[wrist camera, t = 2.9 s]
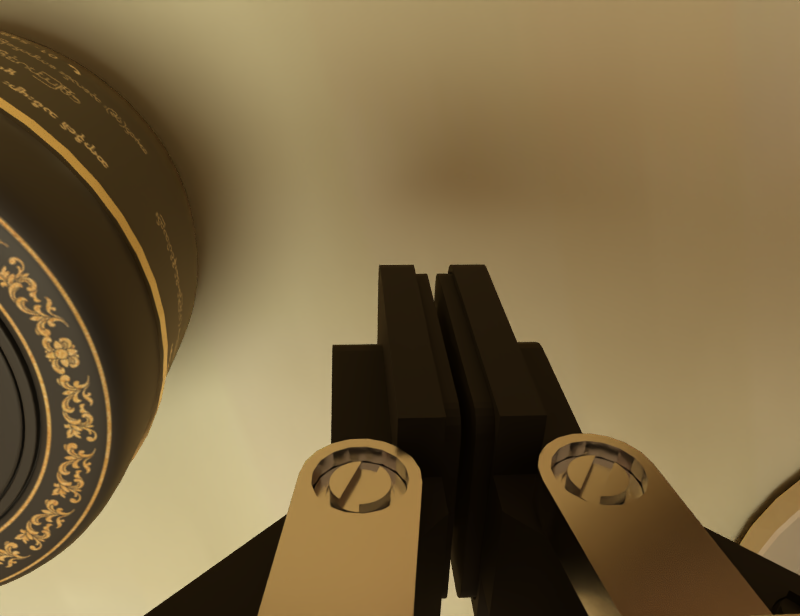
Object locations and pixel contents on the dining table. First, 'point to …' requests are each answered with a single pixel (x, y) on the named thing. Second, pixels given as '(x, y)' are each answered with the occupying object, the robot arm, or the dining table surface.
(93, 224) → the jar
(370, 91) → the dining table surface
